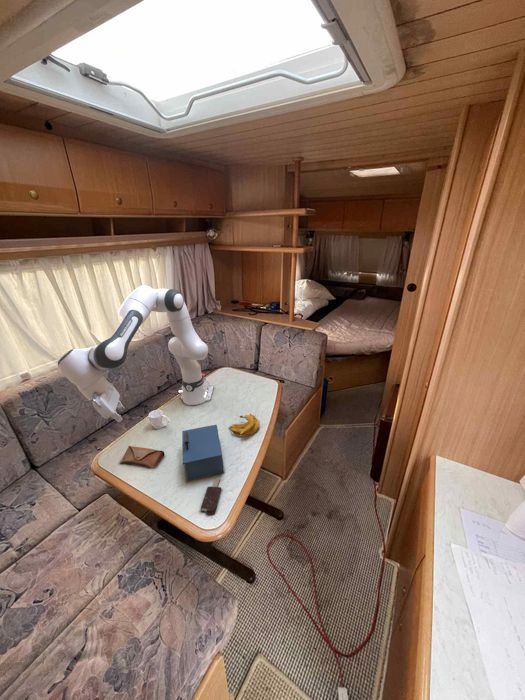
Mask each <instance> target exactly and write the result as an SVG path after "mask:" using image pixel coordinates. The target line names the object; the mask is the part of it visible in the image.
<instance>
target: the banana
mask: <svg viewBox="0 0 525 700" xmlns="http://www.w3.org/2000/svg"><path fill="white" fill-rule="evenodd" d="M239 418H241V419H245V420H246V421H247V422H244V423H235V424H231V425H230V426H229V429H230V431H231V432H232V433H233V434H234V435H236V436H241V437H246V436H247V437H248V436H252V435H253V434H256V432H257V431H258V430H259V428H260V423H261V422H260V420H259V418H258V417H257V415H256V414H253V413H249V414H246V415H240V416H239Z"/></svg>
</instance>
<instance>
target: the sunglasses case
mask: <svg viewBox="0 0 525 700" xmlns="http://www.w3.org/2000/svg"><path fill="white" fill-rule="evenodd" d="M164 458H165V451H164V450H160V449H154V448H148V447H141V446H133V445H128V446H127V448H126V451H125V452H124V455H123V457H122V459H121V460H120V462H119V463H120V464H129V465H135V466H140V467H145V468H149V469H156V467H158V465H159V464H161V462H162V461H163V460H164Z"/></svg>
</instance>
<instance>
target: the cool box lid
mask: <svg viewBox="0 0 525 700" xmlns="http://www.w3.org/2000/svg"><path fill="white" fill-rule="evenodd" d="M181 433H182V434H181V437H182V439H181V442H182V443H181V446H182V447H181V452H182V453H181V457H182V458H181V459H182V461H181V463H182V465H183V466H185V464H188V463H193V462H198V461H202V460H207V459H211V458H216V457H220V456H222V457H223V453H222V452H223V451H222V448H221V442H220V436H219V429H218V425H217V424H212V425H211V424H210V425H207V426H202V427H197V428H196V427H195V428H190V429H186V430H185V429H184V430H182V431H181Z"/></svg>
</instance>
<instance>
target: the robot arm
mask: <svg viewBox="0 0 525 700" xmlns="http://www.w3.org/2000/svg"><path fill="white" fill-rule="evenodd" d="M152 312H155V313H166V318H167V320H168V323H169V326H170V330H171V333H172V335H174V336H172V337H171V338H170V339H169V341H168V343H167V349H168V351H169V352H170V353H171V354H172V355H173V356H174V358H175V360H176V362H177V364H178V366H179V368H180V373H181V377H182V379H181V381H182V382H181V383H182V385H181V390H178V393H181V395H180V399H181V400H182V401H183V403H184V405H187V406H197V405H201V404H203V403H205V402H208V401H211V398H212V396H213V391H214V386H213V385H211V384H210V381H209V380H207V377H206V378H205V375H206V374H205V373H203V372H202V369H201V364H200V362H199V361H203V360H205V359H206V358H207V357H208V354H209V346H208V345H207V344H206V343H205V342H204V341H203V340H202V339H201V337H200V336H199V335H198V333H197V332H196V330H195V328H194V325H193V322H192V319H191V315H190V312H189V309H188V307H187V304H186V302H185V299H184V296H183V294H182V293H181V291H179V290H177V289H175V288H164V287H163V288H162V287H161V288H153V287H151V286H149V285H145V284H142V285H141V284H140V285H139V286H137V287H136V288H135V289H134V290H132V292H130V293H129V295H128V296H127V297H126V298H125V299H124V301H123V302H122V303H121V305H120V307H119V310H118V312H117V313H118V317H119V319H120V323H119V325H117V327H116V329H115V331H114V332H113V333H112V335H110V337H108V339H107V338H106V339H105V340H103V341H102V342H100V343H99V344H96V345H94V346H90V347H85V348H71V349H70V350H68V351H67V352H66V353H64V355H62V356H61V357H60V358H59V359H58V361H57V367H58V369H59V371H60V373H62V374H63V376H64V377H65V378H66V379H67V380H68V381H69V382H70V384H73V385H74V386H75V387H77V389H78V391H79V392H80V393H81V394H82V395H83V396H84V397H85V398H86V399H87V400H88V401H92V406H93V408H94V409H95V410H96V412H98V414H99V415H100V416H101V417H102V418H103V419H105V420H108V419H110V418H111V419H113V420H115V421H116V422H117V423H121V422H122V421H123V418H124V417H123V416H122V415H121V414H118V412H120V413H123V412H124V411H125V410H126V408H125V407H124V406H123V404H122V402H121V401H120V398H121V394H120V392H119V391H118V390H117V389H116V388H115V386H114V385H113V384H112V383H111V379H110V378H109V377H105V376H104V375H103V374H102V372H103V371H105V370H109V369H115V368H118V367H120V366H121V365H123V364H124V363H125V362H126V359H127V355H128V349H129V346H130V344H131V342H132V340H133V338H134V337H135V335H136V333H137V332H138V330H139V328H140V327H141V326H142V325H143V323H145V321H146V320H147V319H148V318H149V316H150V315H151V313H152ZM117 410H118V412H117Z"/></svg>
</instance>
